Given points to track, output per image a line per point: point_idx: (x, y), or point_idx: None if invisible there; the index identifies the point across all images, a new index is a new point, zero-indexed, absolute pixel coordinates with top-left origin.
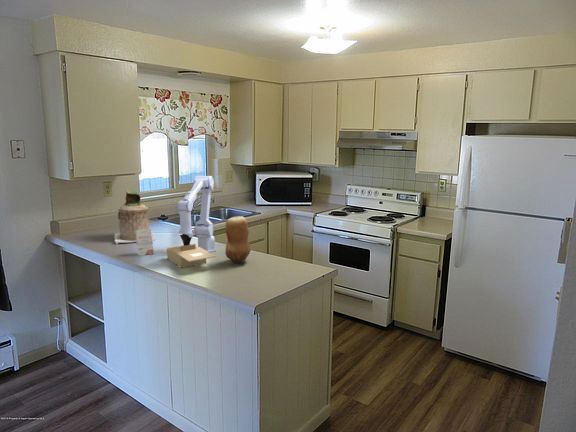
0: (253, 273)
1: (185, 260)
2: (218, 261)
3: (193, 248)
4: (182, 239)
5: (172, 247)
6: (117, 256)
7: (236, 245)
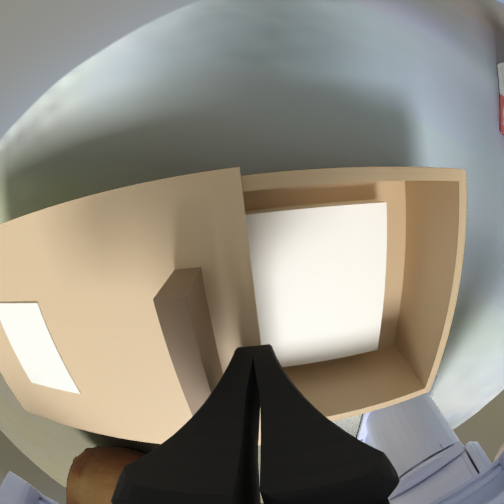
0: (25, 414)
1: None
2: None
3: None
4: (279, 427)
5: (458, 229)
6: (488, 6)
7: (66, 498)
